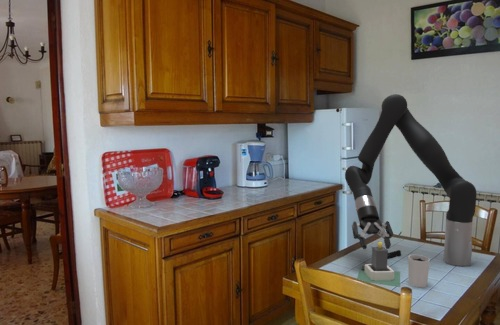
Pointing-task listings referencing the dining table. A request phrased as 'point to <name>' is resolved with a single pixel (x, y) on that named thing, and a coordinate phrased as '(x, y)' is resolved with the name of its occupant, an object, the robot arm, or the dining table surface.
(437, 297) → the dining table surface
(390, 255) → the electric trimmer
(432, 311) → the dining table surface
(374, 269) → the plug
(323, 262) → the dining table surface
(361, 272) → the circuit board
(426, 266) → the grey cup
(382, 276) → the socket
